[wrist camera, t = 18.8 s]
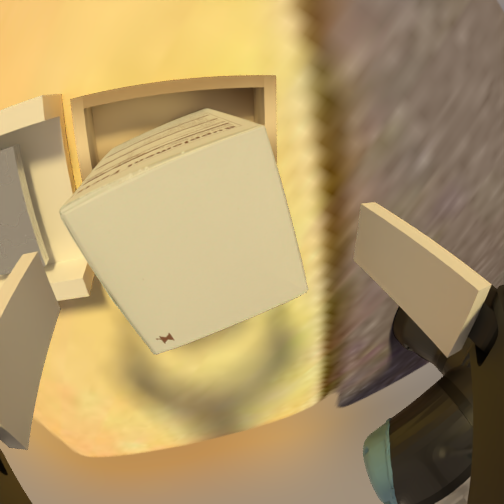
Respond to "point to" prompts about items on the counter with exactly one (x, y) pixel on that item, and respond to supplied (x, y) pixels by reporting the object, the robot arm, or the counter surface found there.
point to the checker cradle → (48, 187)
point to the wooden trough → (166, 110)
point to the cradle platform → (16, 213)
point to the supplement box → (189, 228)
